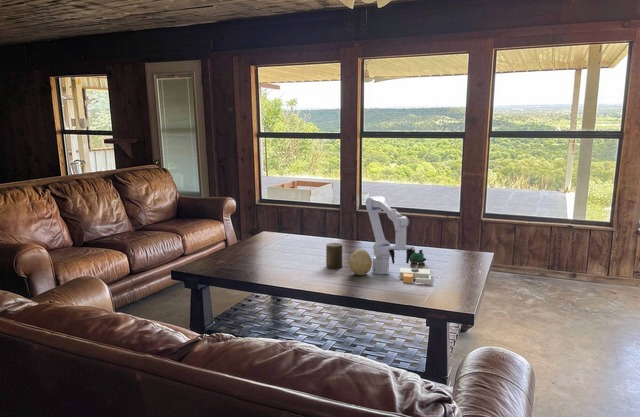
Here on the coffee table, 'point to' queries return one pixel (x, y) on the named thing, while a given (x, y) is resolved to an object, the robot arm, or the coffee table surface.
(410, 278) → the chute block
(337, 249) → the pillar candle
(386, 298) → the coffee table surface
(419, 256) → the binoculars
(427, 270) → the white notched block
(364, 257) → the fossilized egg
